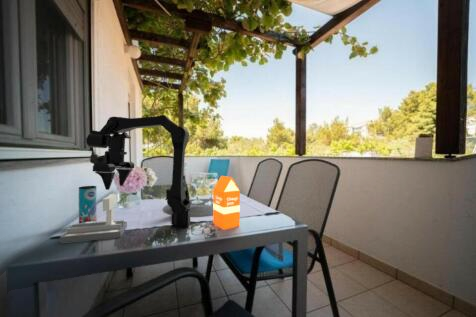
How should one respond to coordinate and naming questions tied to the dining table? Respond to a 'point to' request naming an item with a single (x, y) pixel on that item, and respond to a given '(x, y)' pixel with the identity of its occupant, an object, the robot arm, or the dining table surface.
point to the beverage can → (87, 204)
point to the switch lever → (109, 208)
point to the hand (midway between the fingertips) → (114, 187)
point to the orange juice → (226, 203)
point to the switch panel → (93, 231)
